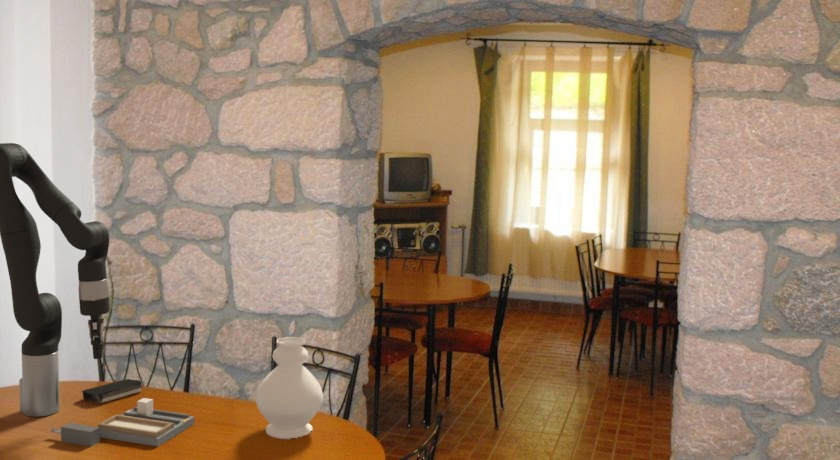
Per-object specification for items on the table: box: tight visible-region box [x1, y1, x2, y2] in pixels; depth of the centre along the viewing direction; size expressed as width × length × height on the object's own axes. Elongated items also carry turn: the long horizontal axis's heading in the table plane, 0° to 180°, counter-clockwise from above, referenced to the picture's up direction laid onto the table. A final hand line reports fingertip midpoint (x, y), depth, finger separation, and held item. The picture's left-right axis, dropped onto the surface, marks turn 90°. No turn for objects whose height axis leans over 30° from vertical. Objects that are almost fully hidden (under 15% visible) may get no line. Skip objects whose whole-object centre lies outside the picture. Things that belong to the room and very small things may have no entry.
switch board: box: [97, 406, 195, 447], centre depth 212 cm, size 19×17×3 cm
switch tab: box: [136, 397, 154, 415], centre depth 217 cm, size 3×3×4 cm
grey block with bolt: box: [50, 422, 101, 447], centre depth 203 cm, size 13×3×4 cm, turn 74°
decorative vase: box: [255, 336, 324, 440], centre depth 214 cm, size 18×18×25 cm
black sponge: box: [82, 378, 143, 404], centre depth 237 cm, size 16×8×4 cm, turn 146°
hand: (98, 354), depth 216 cm, fingers open, 8 cm apart
